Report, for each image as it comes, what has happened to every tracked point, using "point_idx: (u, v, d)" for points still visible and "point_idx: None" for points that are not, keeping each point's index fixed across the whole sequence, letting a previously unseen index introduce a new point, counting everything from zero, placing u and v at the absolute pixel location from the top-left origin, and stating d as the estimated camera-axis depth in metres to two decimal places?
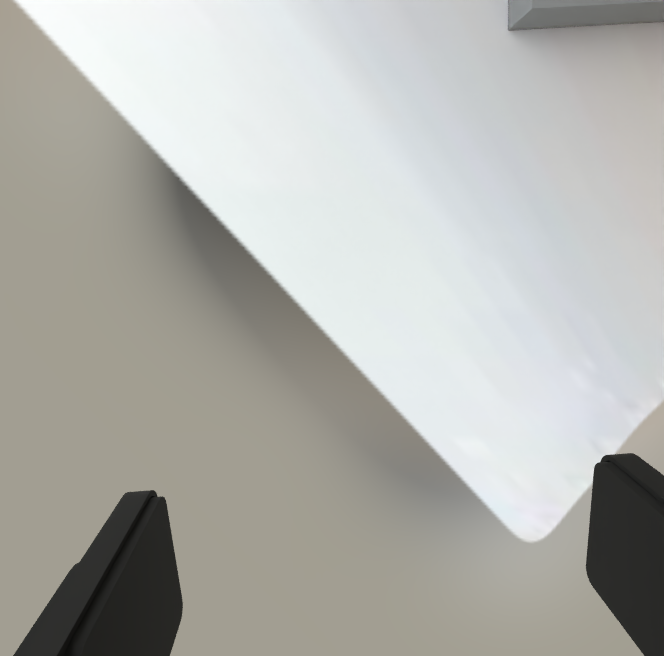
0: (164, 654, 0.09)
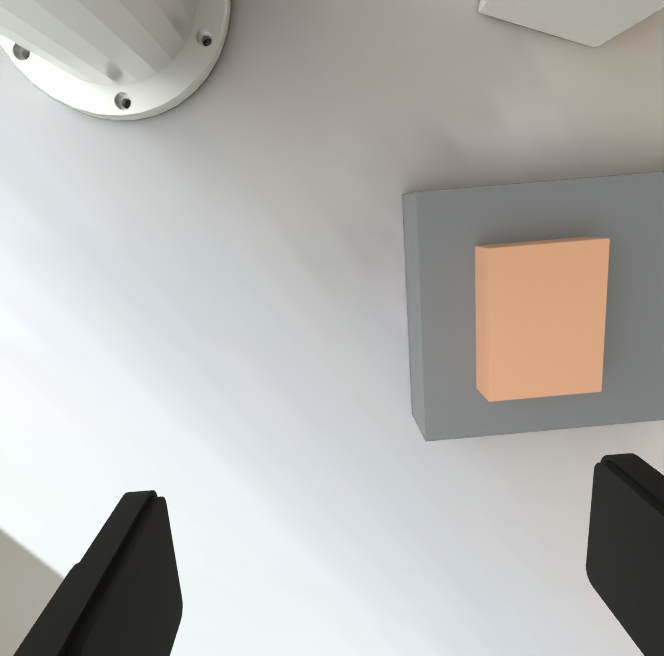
0: (164, 654, 0.09)
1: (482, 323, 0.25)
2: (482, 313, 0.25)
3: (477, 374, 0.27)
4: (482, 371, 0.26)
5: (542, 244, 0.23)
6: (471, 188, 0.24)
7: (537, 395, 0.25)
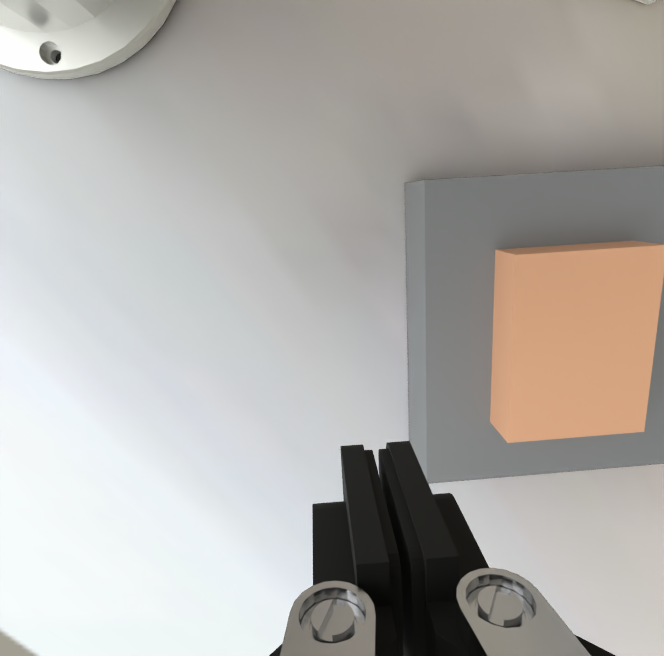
0: None
1: (502, 346, 0.20)
2: (502, 334, 0.20)
3: (492, 406, 0.22)
4: (499, 404, 0.21)
5: (583, 251, 0.18)
6: (494, 177, 0.19)
7: (566, 435, 0.20)
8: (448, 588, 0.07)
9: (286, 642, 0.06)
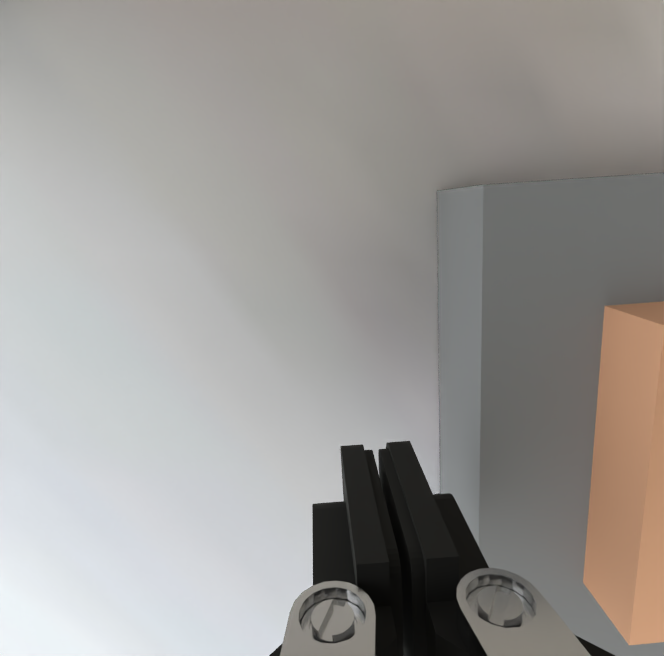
0: None
1: (619, 476, 0.11)
2: (621, 456, 0.11)
3: (589, 560, 0.13)
4: (608, 569, 0.12)
5: None
6: (608, 179, 0.11)
7: None
8: (448, 588, 0.07)
9: (286, 642, 0.06)
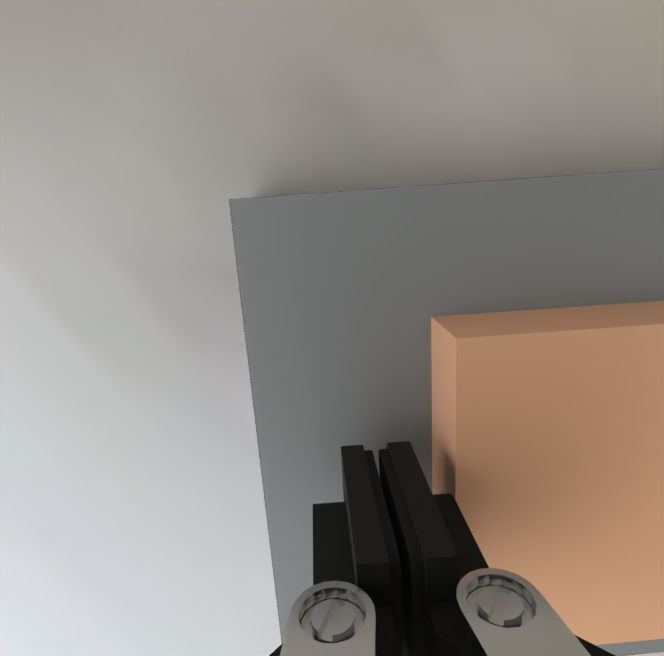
0: None
1: (443, 488, 0.11)
2: (443, 468, 0.11)
3: None
4: None
5: (586, 330, 0.10)
6: (357, 193, 0.11)
7: None
8: (448, 588, 0.07)
9: (286, 642, 0.06)
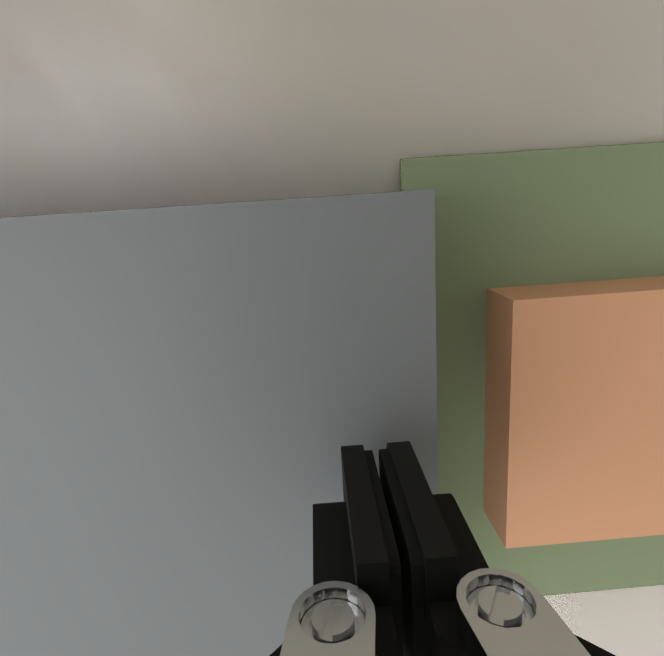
0: None
1: None
2: None
3: None
4: None
5: (590, 282, 0.15)
6: None
7: None
8: (448, 588, 0.07)
9: (286, 642, 0.06)
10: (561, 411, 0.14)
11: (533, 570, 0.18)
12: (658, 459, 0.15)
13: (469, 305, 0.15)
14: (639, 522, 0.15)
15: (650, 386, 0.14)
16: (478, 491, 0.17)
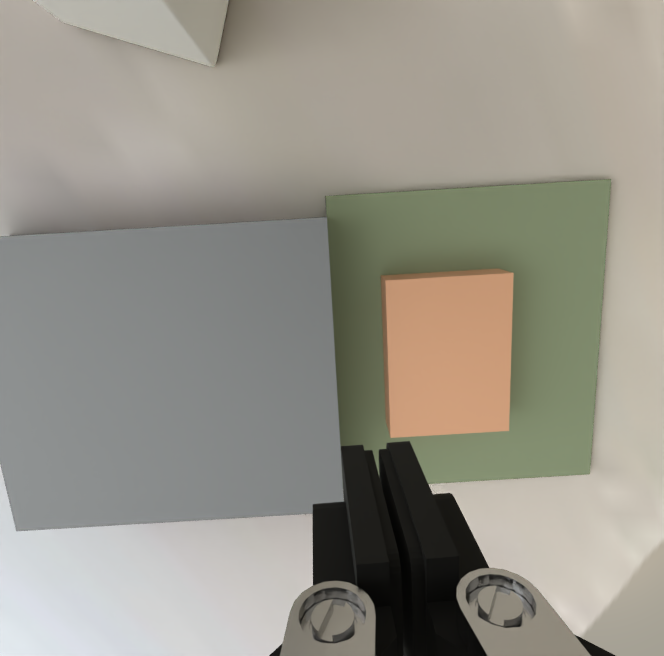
0: None
1: None
2: None
3: None
4: None
5: (445, 272, 0.24)
6: (14, 237, 0.20)
7: None
8: (448, 588, 0.07)
9: (286, 642, 0.06)
10: (419, 349, 0.23)
11: (421, 465, 0.27)
12: (483, 381, 0.23)
13: (370, 286, 0.24)
14: (475, 423, 0.24)
15: (473, 334, 0.23)
16: (381, 408, 0.26)
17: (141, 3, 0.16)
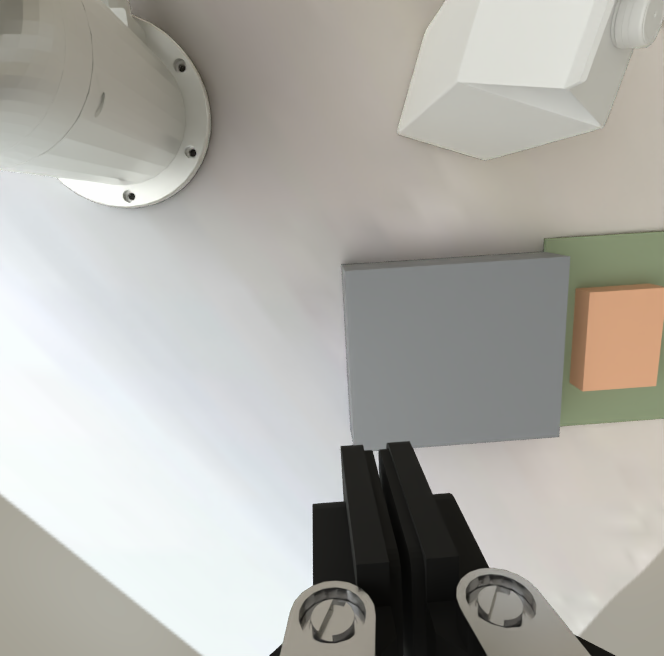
0: None
1: None
2: None
3: None
4: None
5: (616, 286, 0.38)
6: (385, 269, 0.33)
7: None
8: (448, 588, 0.07)
9: (286, 642, 0.06)
10: (606, 334, 0.37)
11: (589, 411, 0.41)
12: (643, 354, 0.37)
13: (568, 295, 0.38)
14: (635, 381, 0.38)
15: (640, 325, 0.37)
16: (567, 374, 0.40)
17: (505, 146, 0.29)
